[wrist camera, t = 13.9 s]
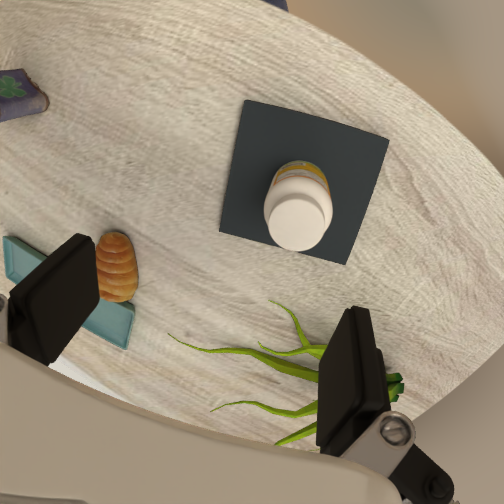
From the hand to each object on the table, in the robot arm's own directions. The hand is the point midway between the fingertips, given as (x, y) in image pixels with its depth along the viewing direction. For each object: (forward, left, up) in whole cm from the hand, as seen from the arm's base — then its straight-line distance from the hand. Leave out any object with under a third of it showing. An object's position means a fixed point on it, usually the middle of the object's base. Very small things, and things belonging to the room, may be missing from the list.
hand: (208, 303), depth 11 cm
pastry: (+18, -17, -23) cm, 33 cm away
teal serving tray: (+25, -27, -23) cm, 43 cm away
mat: (+2, +3, -23) cm, 23 cm away
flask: (-4, -33, -23) cm, 40 cm away
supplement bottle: (+2, +3, -22) cm, 22 cm away
